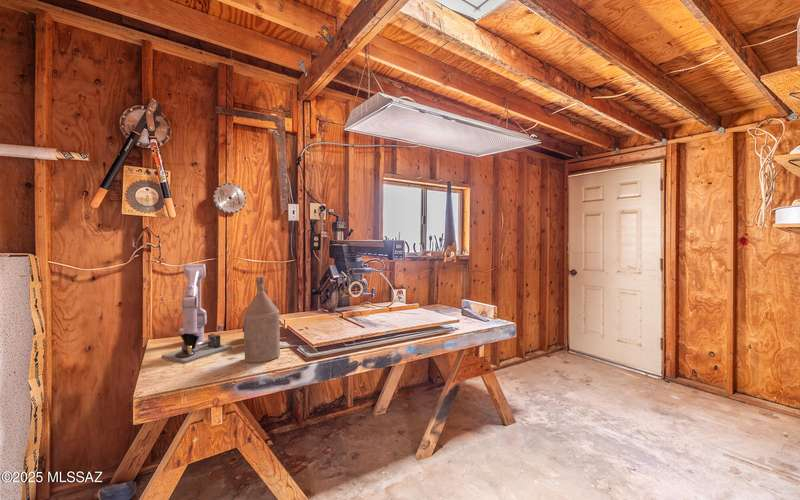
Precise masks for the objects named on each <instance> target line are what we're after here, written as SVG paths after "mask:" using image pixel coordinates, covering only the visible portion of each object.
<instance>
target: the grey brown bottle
mask: <svg viewBox="0 0 800 500" xmlns="http://www.w3.org/2000/svg"><path fill="white" fill-rule="evenodd" d="M255 282H256V294H255V296H254V298H253V299H252V300H251V303H250V304H249V306H248V307H247V309H246V310H245V312H244V313H243V314H242V319H243V321H244V323H243V325H244V332H243V346H244V348H243V349H244V361H245V362H246V363H249V364H250V363H251V364H254V363H255V364H256V363H263V362H269V361H272V360H275V359H277V358H278V357H280V356H281V343H280V342H281V341H280V340H281V339H280V338H281V333H280V331H281V329H280V309H278V308H280V306H281V305H282V300H281V298H279V297H274V298H273V299H272V300H271V299H270V297H269V296H268V295H267V294H268V293H269V289H268V285H269V283H268V282H266V283H264V282H265V275H259V276H255ZM266 285H267V286H266ZM264 287H266V288H264ZM275 300H279V305H278V306H277V305H276V304H275V303H274V301H275Z"/></svg>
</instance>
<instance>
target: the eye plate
mask: <svg viewBox="0 0 800 500" xmlns="http://www.w3.org/2000/svg"><path fill="white" fill-rule="evenodd" d="M207 340H211V343H210V344H208V345H205V346H206V347H211V348H215V349H217V348H220V347H223V345H224V344H223V345H220V344H221V335H220V334H216V333H215V334H214V333H211V334H208V335H207Z"/></svg>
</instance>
